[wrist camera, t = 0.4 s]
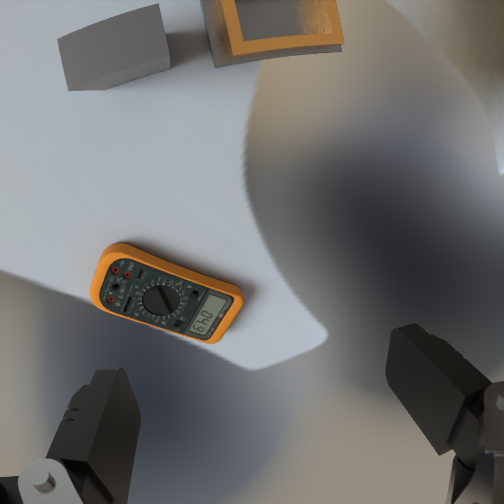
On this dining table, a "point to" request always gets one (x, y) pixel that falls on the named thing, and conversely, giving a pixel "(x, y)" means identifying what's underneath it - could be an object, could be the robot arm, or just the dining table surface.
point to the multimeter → (164, 294)
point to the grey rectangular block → (115, 50)
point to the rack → (270, 29)
